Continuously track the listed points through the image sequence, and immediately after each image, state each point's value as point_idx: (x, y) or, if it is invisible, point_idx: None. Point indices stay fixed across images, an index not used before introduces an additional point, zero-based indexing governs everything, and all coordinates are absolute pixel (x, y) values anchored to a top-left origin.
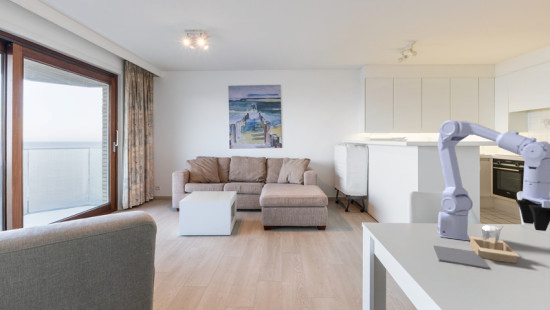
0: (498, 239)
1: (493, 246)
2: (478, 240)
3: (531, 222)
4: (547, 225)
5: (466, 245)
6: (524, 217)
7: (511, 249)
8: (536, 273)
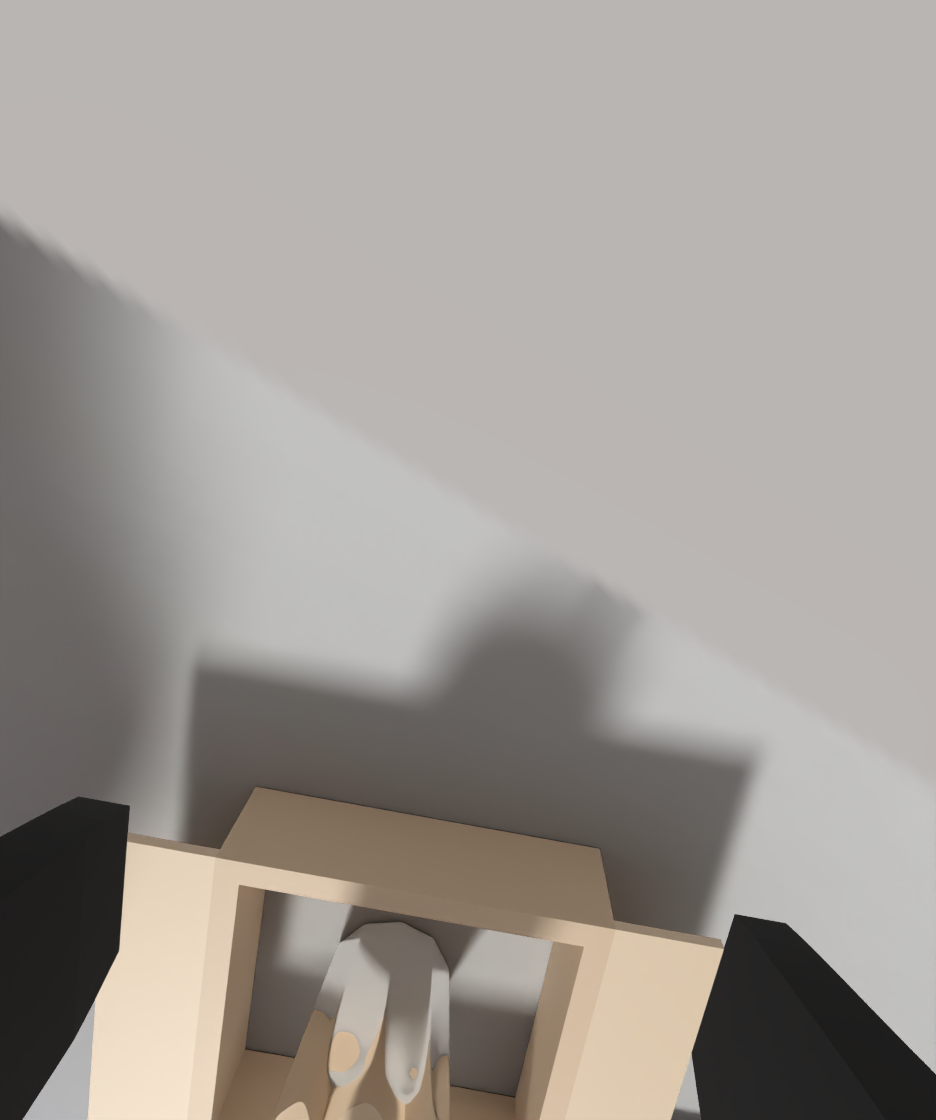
0: (425, 1112)
1: (449, 1071)
2: (217, 1098)
3: (115, 855)
4: (885, 1037)
5: None
6: (34, 1087)
7: (487, 916)
8: (835, 803)
